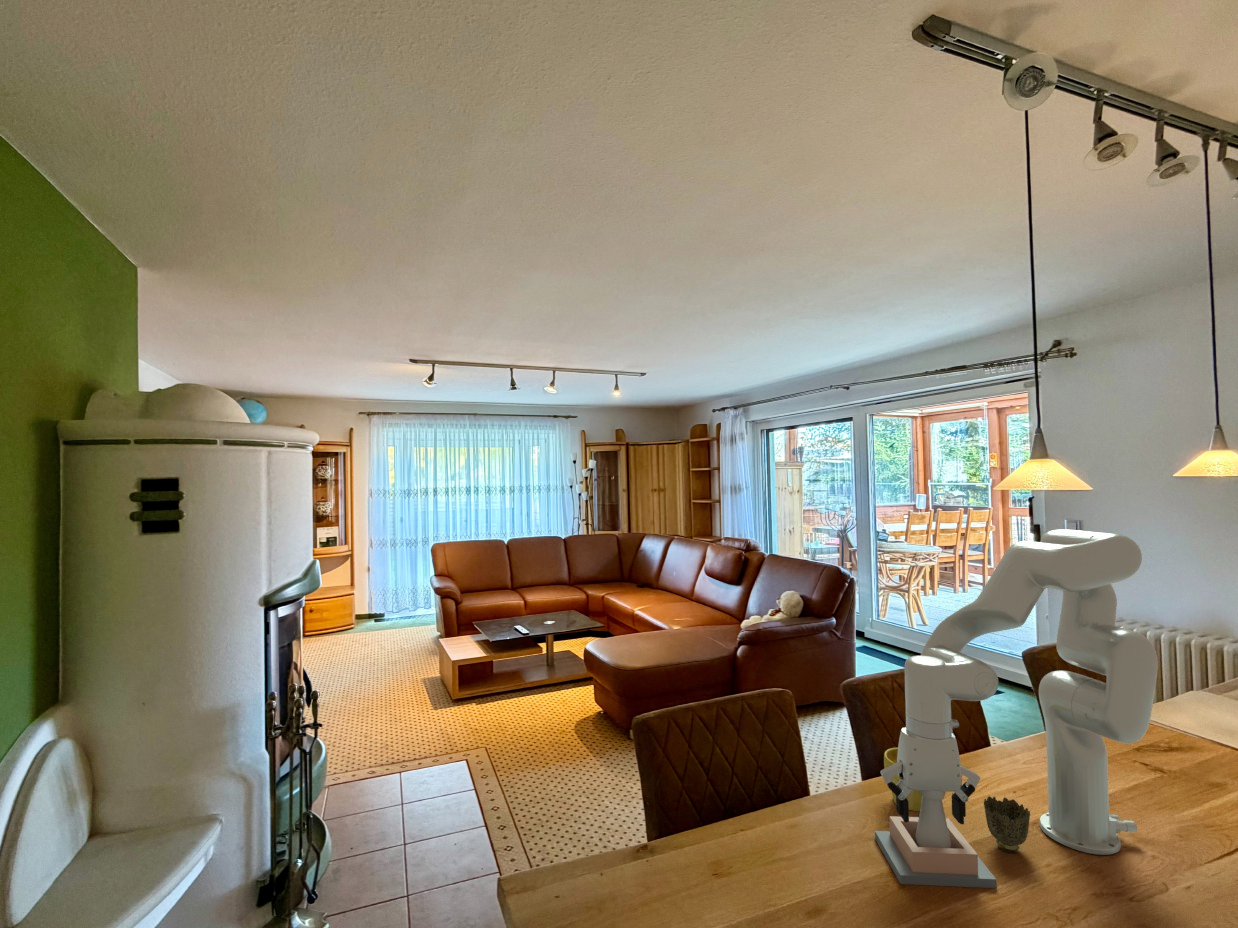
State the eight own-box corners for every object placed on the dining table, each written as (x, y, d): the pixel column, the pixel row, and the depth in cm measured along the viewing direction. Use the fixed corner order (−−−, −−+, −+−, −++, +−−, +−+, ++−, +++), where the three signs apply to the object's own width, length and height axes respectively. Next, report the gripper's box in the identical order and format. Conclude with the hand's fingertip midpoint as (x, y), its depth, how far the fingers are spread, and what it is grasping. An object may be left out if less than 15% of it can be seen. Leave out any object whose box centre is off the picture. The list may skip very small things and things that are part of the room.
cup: (1024, 840, 115) (1023, 798, 115) (1037, 864, 108) (1035, 819, 108) (980, 833, 117) (979, 792, 118) (990, 856, 110) (989, 812, 111)
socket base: (960, 841, 115) (959, 815, 115) (996, 887, 102) (995, 858, 102) (875, 838, 116) (874, 812, 116) (900, 883, 103) (899, 854, 104)
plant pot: (949, 810, 126) (947, 764, 126) (911, 820, 122) (910, 772, 122) (909, 786, 135) (908, 743, 136) (874, 795, 132) (873, 751, 132)
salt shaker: (955, 865, 106) (953, 792, 106) (920, 861, 107) (919, 789, 107) (945, 845, 111) (943, 775, 112) (912, 841, 113) (910, 773, 113)
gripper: (967, 718, 113) (969, 809, 112) (873, 716, 114) (875, 805, 114) (987, 735, 105) (990, 832, 105) (887, 733, 107) (889, 829, 106)
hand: (930, 818), depth 109 cm, fingers open, 9 cm apart
